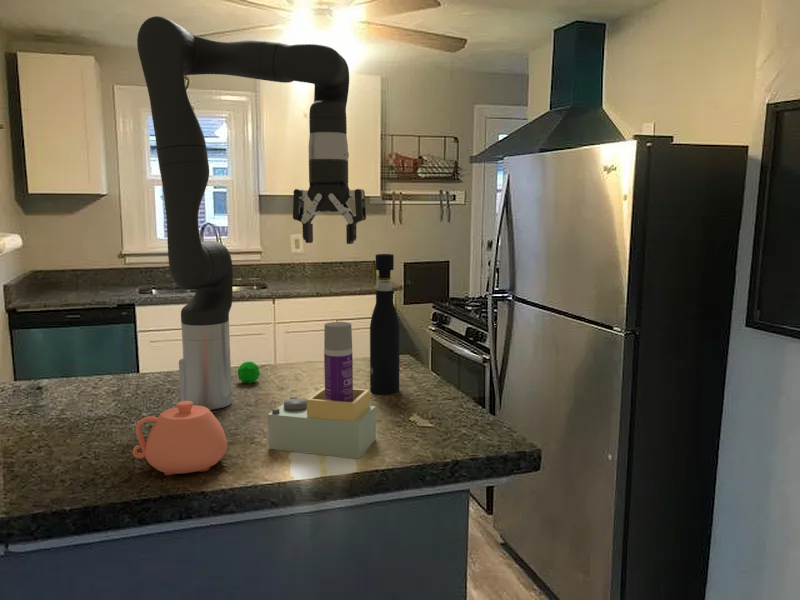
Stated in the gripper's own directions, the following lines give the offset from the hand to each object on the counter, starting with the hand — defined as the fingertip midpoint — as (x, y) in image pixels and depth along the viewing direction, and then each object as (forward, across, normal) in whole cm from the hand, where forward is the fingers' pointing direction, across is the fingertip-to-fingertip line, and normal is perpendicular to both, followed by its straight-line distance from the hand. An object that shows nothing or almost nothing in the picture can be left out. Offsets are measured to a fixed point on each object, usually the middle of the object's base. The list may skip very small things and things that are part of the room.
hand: (329, 243), depth 127 cm
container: (+27, +9, -19) cm, 35 cm away
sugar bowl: (+33, -12, -34) cm, 49 cm away
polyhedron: (+33, -25, +12) cm, 43 cm away
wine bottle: (+33, +7, +14) cm, 37 cm away
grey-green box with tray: (+33, +6, -20) cm, 39 cm away
